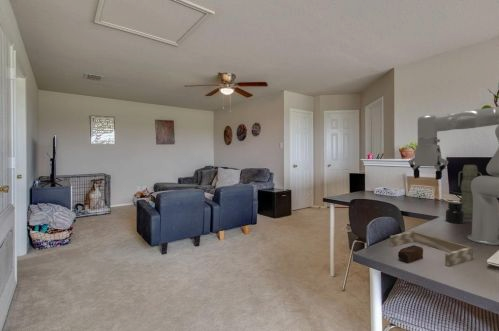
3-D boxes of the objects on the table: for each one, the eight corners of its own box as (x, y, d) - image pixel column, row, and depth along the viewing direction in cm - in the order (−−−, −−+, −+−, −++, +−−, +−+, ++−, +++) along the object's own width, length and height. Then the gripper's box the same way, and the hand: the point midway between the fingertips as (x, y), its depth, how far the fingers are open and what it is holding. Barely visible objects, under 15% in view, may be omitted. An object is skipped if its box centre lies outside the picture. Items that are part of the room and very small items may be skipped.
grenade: (482, 219, 165) (484, 164, 163) (458, 217, 171) (460, 164, 169) (478, 216, 172) (480, 164, 171) (456, 214, 179) (457, 164, 177)
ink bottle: (459, 220, 163) (459, 201, 163) (468, 224, 155) (468, 204, 154) (441, 219, 165) (442, 201, 165) (450, 223, 156) (450, 203, 156)
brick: (413, 255, 109) (413, 244, 108) (423, 258, 105) (423, 247, 105) (397, 260, 104) (397, 248, 103) (407, 264, 100) (407, 252, 100)
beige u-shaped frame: (413, 240, 127) (413, 231, 126) (473, 258, 105) (473, 247, 104) (389, 245, 120) (390, 236, 120) (448, 266, 98) (448, 254, 97)
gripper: (452, 141, 115) (452, 179, 116) (413, 143, 131) (413, 176, 131) (443, 141, 112) (442, 180, 113) (404, 143, 127) (404, 177, 128)
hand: (427, 178), depth 122 cm, fingers open, 9 cm apart
